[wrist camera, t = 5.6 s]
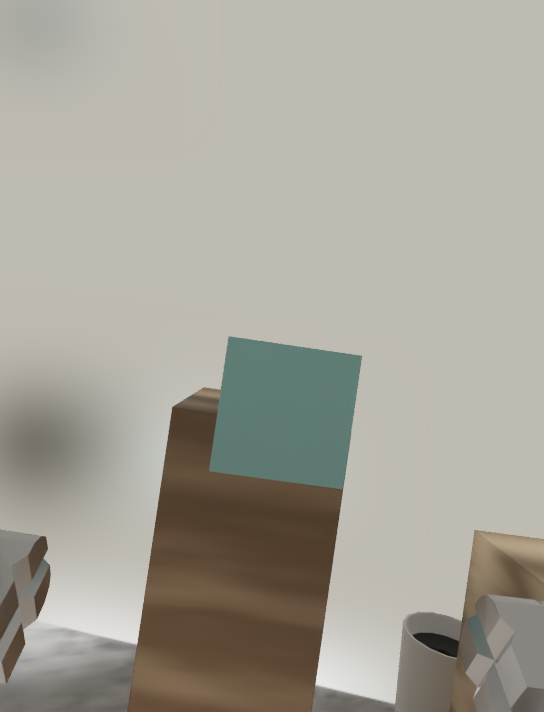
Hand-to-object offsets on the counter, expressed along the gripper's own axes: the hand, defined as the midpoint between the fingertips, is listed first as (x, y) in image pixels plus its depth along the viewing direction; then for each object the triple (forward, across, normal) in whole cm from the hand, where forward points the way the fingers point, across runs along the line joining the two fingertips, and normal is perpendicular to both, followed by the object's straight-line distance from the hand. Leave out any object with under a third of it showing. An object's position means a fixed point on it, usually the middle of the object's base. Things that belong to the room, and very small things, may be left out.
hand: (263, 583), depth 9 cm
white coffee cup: (+12, -17, +35) cm, 41 cm away
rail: (+13, 0, +6) cm, 15 cm away
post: (+5, 0, +31) cm, 32 cm away
